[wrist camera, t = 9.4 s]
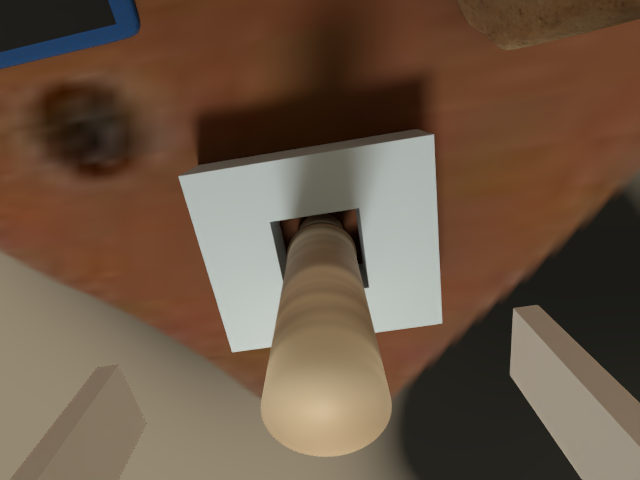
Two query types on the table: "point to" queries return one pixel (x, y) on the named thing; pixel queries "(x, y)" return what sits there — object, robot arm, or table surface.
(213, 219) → the board
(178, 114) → the table surface
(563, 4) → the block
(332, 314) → the peg
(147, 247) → the table surface
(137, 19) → the cell phone
